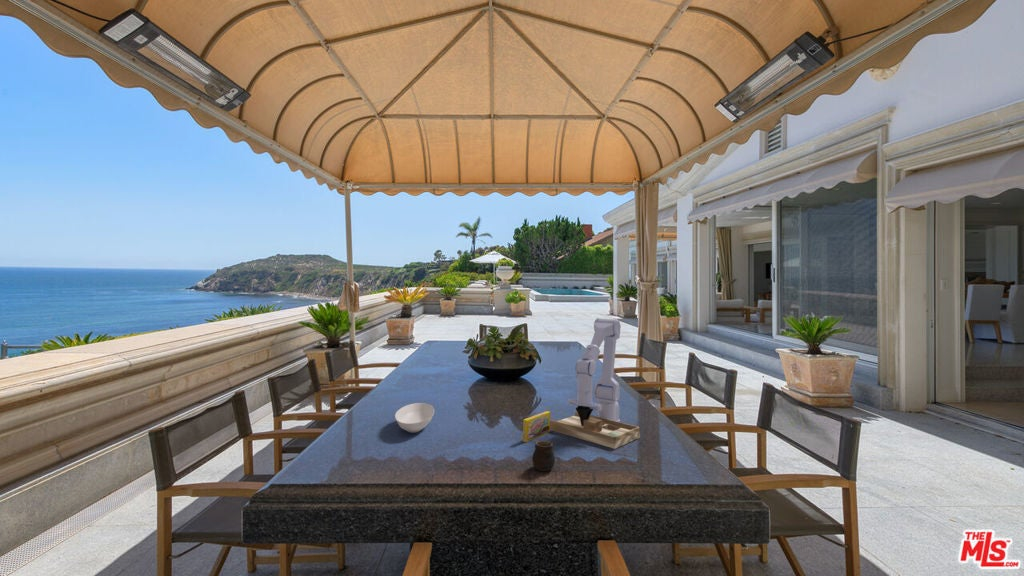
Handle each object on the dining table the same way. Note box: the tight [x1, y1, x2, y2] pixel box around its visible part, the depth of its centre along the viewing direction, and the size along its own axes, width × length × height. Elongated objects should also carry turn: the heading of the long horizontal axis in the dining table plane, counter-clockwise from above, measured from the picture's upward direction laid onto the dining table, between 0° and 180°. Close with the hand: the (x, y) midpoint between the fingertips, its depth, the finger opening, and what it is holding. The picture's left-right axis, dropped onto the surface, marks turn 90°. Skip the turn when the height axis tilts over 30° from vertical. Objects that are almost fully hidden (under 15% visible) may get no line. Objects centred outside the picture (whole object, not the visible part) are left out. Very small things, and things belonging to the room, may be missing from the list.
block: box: [583, 418, 602, 432], centre depth 176 cm, size 5×5×4 cm
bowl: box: [394, 402, 435, 434], centre depth 185 cm, size 30×15×6 cm, turn 4°
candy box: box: [521, 410, 551, 443], centre depth 176 cm, size 16×2×8 cm, turn 143°
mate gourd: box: [531, 440, 556, 472], centre depth 145 cm, size 7×8×10 cm
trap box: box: [550, 411, 641, 450], centre depth 181 cm, size 18×30×4 cm, turn 46°
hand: (584, 425), depth 179 cm, fingers closed
